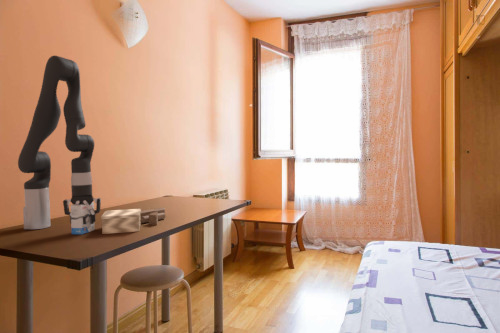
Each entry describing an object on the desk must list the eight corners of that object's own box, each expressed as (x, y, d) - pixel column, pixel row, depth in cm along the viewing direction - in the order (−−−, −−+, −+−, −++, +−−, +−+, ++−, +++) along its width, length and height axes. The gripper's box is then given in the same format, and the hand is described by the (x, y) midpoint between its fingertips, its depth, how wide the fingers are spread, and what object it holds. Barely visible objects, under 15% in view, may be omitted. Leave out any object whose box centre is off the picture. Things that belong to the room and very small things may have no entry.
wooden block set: (131, 210, 160) (161, 205, 174) (131, 222, 160) (162, 216, 174) (154, 213, 150) (184, 207, 164) (154, 226, 150) (185, 219, 165)
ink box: (81, 234, 135) (80, 205, 135) (70, 234, 136) (69, 205, 136) (95, 229, 144) (94, 202, 143) (85, 229, 145) (84, 201, 144)
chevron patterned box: (101, 234, 136) (100, 216, 136) (106, 226, 150) (105, 210, 150) (139, 231, 140) (139, 214, 139) (141, 224, 154) (140, 208, 154)
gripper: (59, 185, 133) (61, 227, 134) (99, 183, 137) (100, 224, 138) (64, 183, 141) (66, 223, 141) (102, 182, 144) (103, 221, 145)
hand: (83, 224), depth 140 cm, fingers closed on ink box, 6 cm apart
